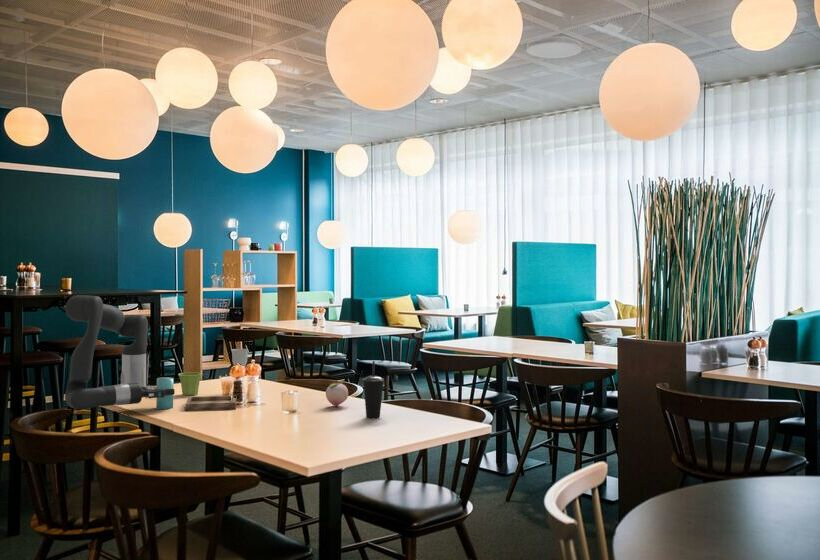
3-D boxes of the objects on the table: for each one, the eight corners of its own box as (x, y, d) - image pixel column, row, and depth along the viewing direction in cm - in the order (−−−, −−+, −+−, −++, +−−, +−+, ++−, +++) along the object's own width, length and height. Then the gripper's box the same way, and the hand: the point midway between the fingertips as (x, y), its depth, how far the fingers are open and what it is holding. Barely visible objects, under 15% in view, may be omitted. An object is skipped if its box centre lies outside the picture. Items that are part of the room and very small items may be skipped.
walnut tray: (185, 410, 275) (185, 403, 275) (188, 403, 291) (188, 396, 291) (235, 409, 279) (235, 402, 279) (236, 402, 294) (236, 395, 294)
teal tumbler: (155, 409, 277) (156, 379, 276) (157, 406, 282) (157, 377, 282) (172, 409, 278) (172, 379, 278) (173, 406, 284) (174, 377, 284)
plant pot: (194, 397, 305) (194, 375, 305) (173, 395, 308) (173, 374, 308) (206, 393, 314) (206, 372, 314) (186, 392, 317) (186, 371, 317)
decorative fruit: (343, 409, 281) (343, 382, 281) (323, 408, 283) (323, 381, 283) (351, 405, 291) (351, 379, 290) (331, 404, 292) (331, 378, 292)
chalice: (250, 390, 323) (250, 348, 323) (245, 393, 316) (245, 350, 316) (233, 390, 324) (234, 348, 324) (228, 392, 317) (228, 350, 317)
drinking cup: (360, 418, 263) (360, 362, 263) (364, 414, 271) (365, 359, 271) (381, 419, 262) (382, 362, 262) (385, 415, 270) (386, 360, 270)
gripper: (132, 386, 265) (177, 382, 276) (119, 381, 276) (162, 377, 287) (132, 407, 265) (177, 402, 276) (119, 401, 277) (162, 397, 287)
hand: (169, 390), depth 281 cm, fingers open, 8 cm apart
